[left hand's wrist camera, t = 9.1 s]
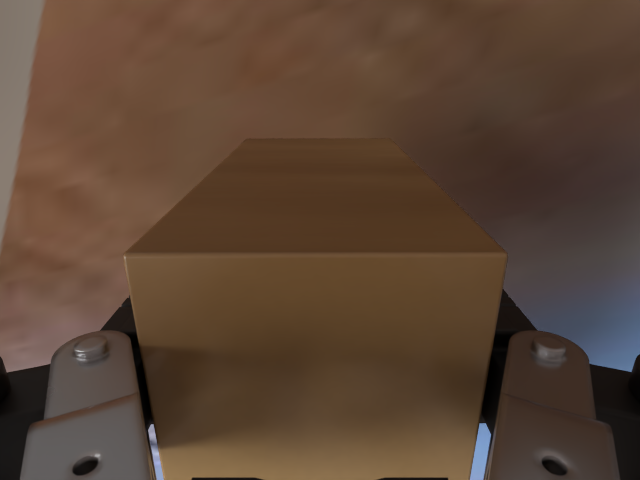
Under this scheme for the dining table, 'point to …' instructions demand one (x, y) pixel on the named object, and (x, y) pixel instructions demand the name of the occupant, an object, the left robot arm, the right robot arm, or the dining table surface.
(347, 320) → the box
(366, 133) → the dining table surface
